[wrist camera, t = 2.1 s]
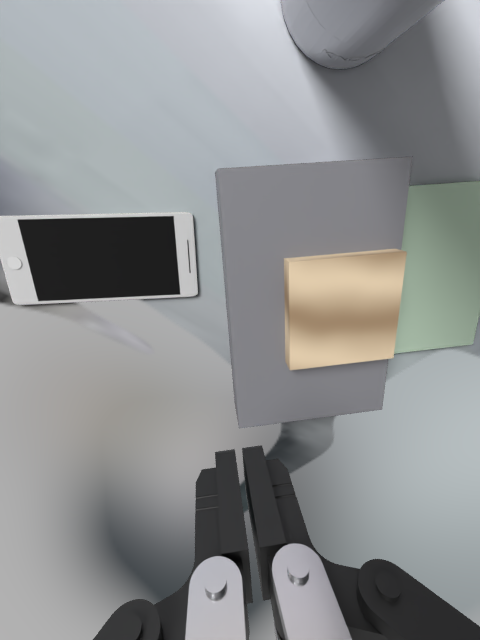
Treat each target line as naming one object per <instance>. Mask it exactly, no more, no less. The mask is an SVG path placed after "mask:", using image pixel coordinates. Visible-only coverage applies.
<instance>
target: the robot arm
mask: <svg viewBox="0 0 480 640" xmlns="http://www.w3.org/2000/svg"><path fill="white" fill-rule="evenodd" d="M443 1H444V0H281V5H282V11H283V16H284V19H285V22H286V25H287V28H288V31H289V33H290V34H291V36H292V38H293V40H294V41H295V43H296V45H297V46H298V47H299V48H300V49H301V50H302V52H303V53H304V54H305V55H306V56H307V57H309V58H310V59H311V60H313V61H314V62H316V63H317V64H320V65H322V66H325V67H328V68H333V69H346V68H352V67H356V66H358V65H360V64H363V63H365V62H367V61H368V60H369V59H371V58H372V57H374V56H375V55H376V54H378V53H379V52H381V51H382V50H384V49H385V47H386V46H388V45H389V44H390V43H391V42H393V41H394V40H395V39H396V38H398V37H399V36H400V35H402V34H403V33H404V32H406V31H407V30H408V29H409V28H411V27H412V26H413V25H414V24H416V23H417V22H418V21H419V20H421V19H422V18H423V17H424V16H426V15H427V14H428V13H429V12H431V11H432V10H433V9H434V8H436V7H437V6H438V5H439V4H441V3H442V2H443ZM242 450H243V451H242V452H243V464H244V477H245V487H246V495H247V501H248V508H249V514H250V520H251V527H252V533H253V539H254V546H255V552H256V559H257V565H258V572H259V578H260V584H261V591H262V597H263V600H269V599H271V604H272V610H273V616H274V626H275V636H276V640H480V627H479V626H478V625H477V624H476V623H474V622H473V621H471V620H470V619H468V618H467V617H466V616H464V615H463V614H462V613H460V612H459V611H458V610H457V609H455V608H454V607H452V606H451V605H450V604H448V603H447V602H446V601H444V600H443V599H442V598H440V597H439V596H437V595H436V594H435V593H433V592H432V591H431V590H429V589H428V588H427V587H425V586H424V585H423V584H421V583H420V582H418V581H417V580H416V579H414V578H413V577H412V576H410V575H409V574H408V573H406V572H405V571H403V570H402V569H401V568H399V567H398V566H396V565H395V564H393V563H391V562H389V561H386V560H382V559H373V560H370V561H368V562H366V563H365V564H363V566H362V567H361V569H357V568H352V567H346V566H342V565H338V564H334V563H332V562H330V561H328V560H326V559H325V558H324V557H322V556H321V555H320V554H319V553H318V552H317V551H316V550H315V548H314V547H313V545H312V543H311V541H310V538H309V535H308V532H307V529H306V526H305V523H304V520H303V516H302V513H301V510H300V507H299V504H298V501H297V498H296V496H295V492H294V488H293V485H292V482H291V479H290V476H289V473H288V470H287V468H286V467H285V466H284V465H283V464H282V463H281V461H280V460H279V459H273V460H265V456H264V452H263V448H262V446H255V447H247V448H242ZM215 458H216V468H210V469H203V470H202V471H201V473H200V475H199V477H198V479H197V481H196V514H195V562H194V567H193V570H192V573H191V575H190V576H189V578H188V580H187V582H186V583H185V584H184V585H183V586H182V587H181V588H180V589H179V590H178V591H177V592H175V593H174V594H172V595H170V596H169V597H167V598H165V599H164V600H162V601H160V602H158V603H156V604H155V605H153V604H152V603H151V602H149V601H147V600H143V599H136V600H132V601H129V602H127V603H125V604H124V605H122V606H121V607H119V608H118V609H117V610H116V611H115V612H114V613H113V614H112V615H111V617H110V618H109V619H108V621H107V622H106V623H105V625H104V626H103V627H102V629H101V630H100V631H99V632H98V634H97V635H96V637H95V638H94V639H93V640H249V621H248V610H247V603H252V602H253V599H252V588H251V575H250V563H249V552H248V543H247V536H246V528H245V521H244V514H243V507H242V499H241V492H240V485H239V477H238V471H237V463H236V456H235V450H234V449H233V450H227V451H219V452H215Z"/></svg>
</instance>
